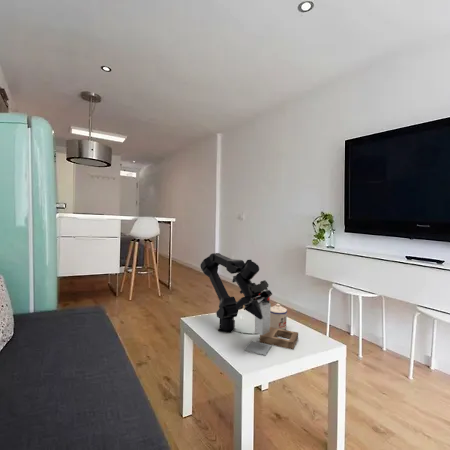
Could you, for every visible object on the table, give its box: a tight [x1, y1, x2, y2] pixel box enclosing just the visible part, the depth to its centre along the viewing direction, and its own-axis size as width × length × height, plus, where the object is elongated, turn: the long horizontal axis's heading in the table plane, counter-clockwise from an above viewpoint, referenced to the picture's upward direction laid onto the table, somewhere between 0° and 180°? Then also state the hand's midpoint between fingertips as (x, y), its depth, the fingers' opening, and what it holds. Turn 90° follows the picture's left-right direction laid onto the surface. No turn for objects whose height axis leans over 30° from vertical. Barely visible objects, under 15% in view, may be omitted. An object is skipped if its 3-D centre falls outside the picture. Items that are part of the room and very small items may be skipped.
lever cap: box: [254, 301, 272, 336], centre depth 119 cm, size 4×5×12 cm
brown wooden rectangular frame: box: [259, 327, 299, 350], centre depth 127 cm, size 14×11×3 cm
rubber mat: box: [243, 340, 273, 357], centre depth 119 cm, size 9×9×1 cm
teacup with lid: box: [270, 303, 288, 330], centre depth 142 cm, size 12×9×12 cm
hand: (265, 317), depth 118 cm, fingers closed on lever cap, 5 cm apart
